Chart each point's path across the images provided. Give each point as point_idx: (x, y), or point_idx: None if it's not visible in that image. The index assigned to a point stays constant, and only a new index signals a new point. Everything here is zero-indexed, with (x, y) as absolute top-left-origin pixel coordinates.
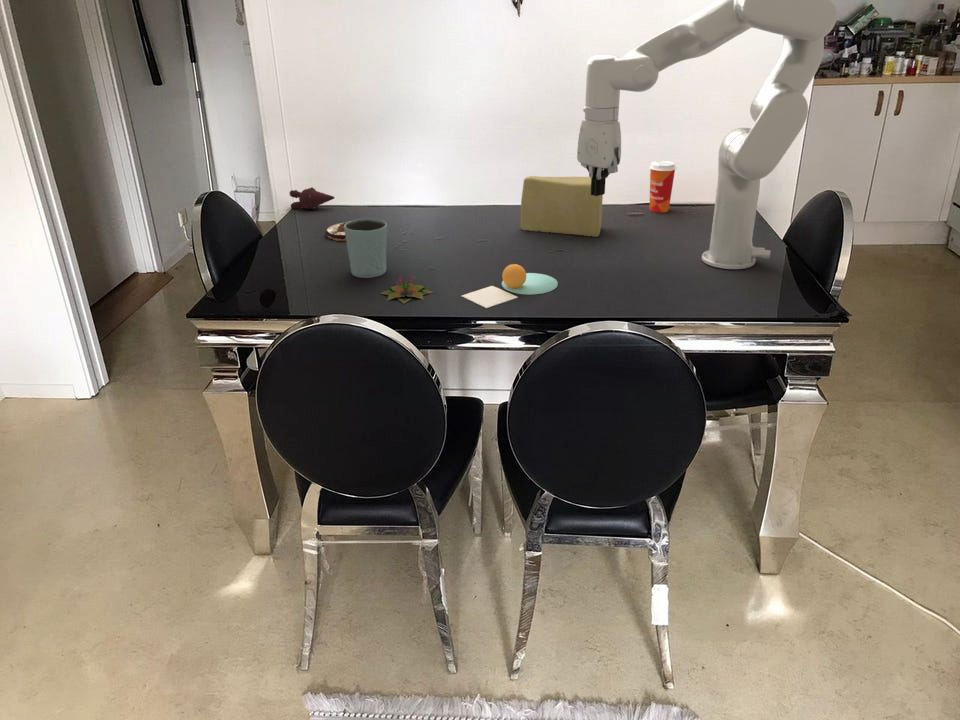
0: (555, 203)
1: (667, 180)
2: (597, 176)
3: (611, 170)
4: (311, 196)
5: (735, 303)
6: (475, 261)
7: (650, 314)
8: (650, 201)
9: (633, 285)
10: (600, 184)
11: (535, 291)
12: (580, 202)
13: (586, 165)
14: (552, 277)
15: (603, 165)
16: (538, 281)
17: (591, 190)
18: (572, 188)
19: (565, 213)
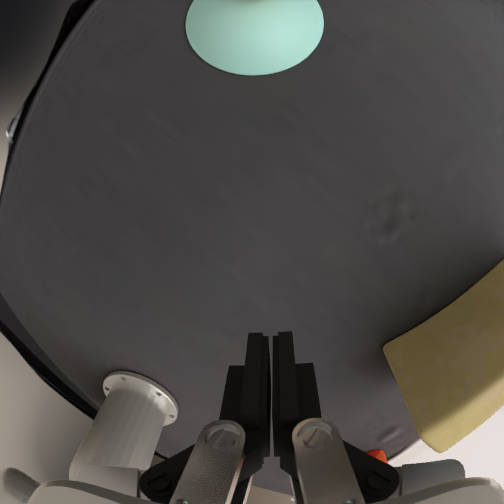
0: (494, 329)
1: None
2: (240, 442)
3: (102, 483)
4: None
5: (18, 278)
6: (443, 40)
7: (23, 146)
8: (382, 460)
9: (109, 205)
10: (223, 400)
11: (203, 4)
12: (447, 372)
13: (405, 485)
14: (249, 74)
15: (58, 497)
16: (249, 35)
17: (285, 347)
18: (481, 382)
19: (463, 331)
